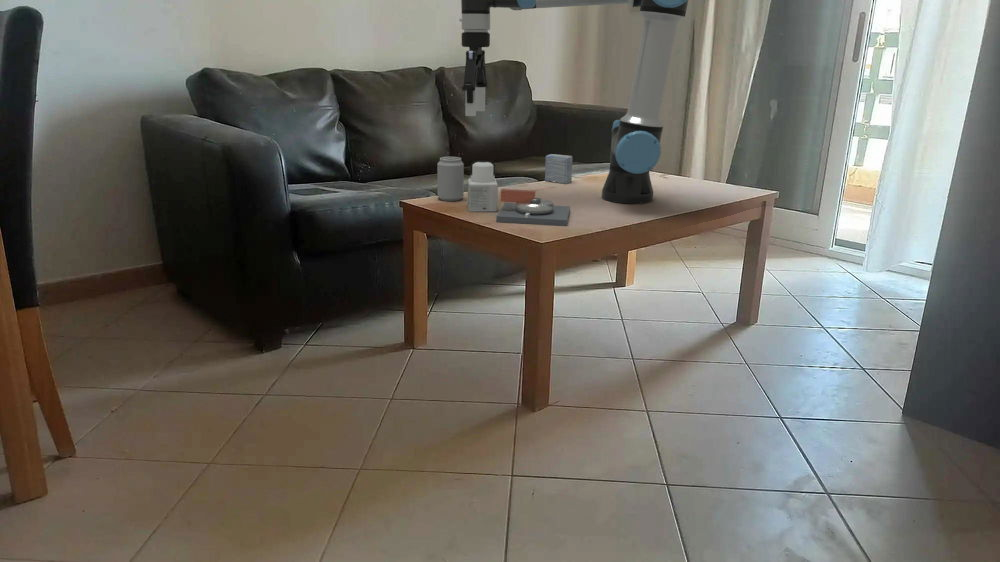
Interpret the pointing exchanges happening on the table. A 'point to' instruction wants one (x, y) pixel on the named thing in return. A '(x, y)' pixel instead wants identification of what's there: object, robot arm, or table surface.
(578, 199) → the table surface
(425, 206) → the table surface
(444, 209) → the table surface
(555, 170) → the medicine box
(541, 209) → the dial
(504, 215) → the plate
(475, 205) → the container
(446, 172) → the can
